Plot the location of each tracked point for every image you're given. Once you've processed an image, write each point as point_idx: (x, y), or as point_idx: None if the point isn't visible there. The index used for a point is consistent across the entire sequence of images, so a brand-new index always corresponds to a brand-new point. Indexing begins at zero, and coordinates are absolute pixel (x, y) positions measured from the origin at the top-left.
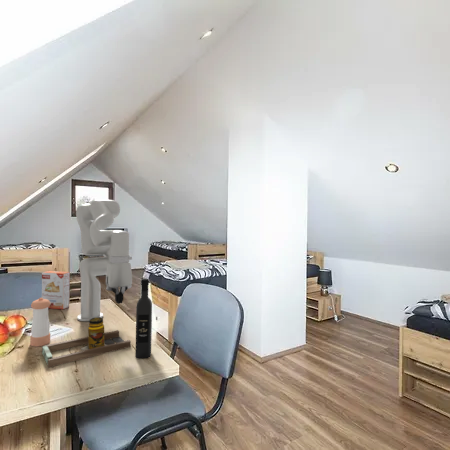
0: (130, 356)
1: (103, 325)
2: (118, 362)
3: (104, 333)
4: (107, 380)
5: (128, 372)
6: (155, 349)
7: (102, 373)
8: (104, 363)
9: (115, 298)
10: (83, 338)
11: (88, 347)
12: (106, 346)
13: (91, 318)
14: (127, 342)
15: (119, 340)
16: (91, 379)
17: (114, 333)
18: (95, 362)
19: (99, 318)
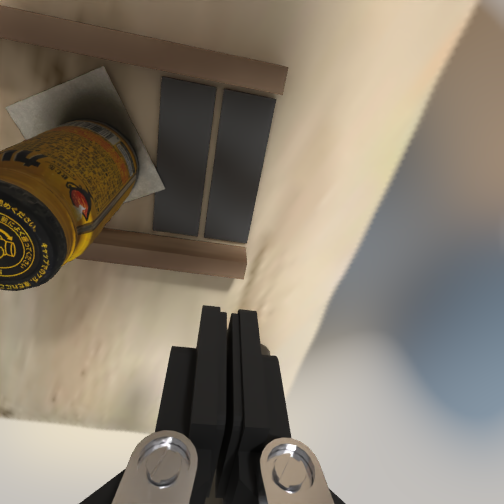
0: (192, 332)
1: (81, 247)
2: (132, 343)
3: (181, 55)
4: (59, 408)
5: (132, 407)
6: (301, 341)
7: (56, 372)
8: (83, 321)
9: (165, 383)
10: (15, 35)
11: (56, 120)
12: (114, 260)
13: None
14: (226, 274)
15: (243, 157)
16: (13, 381)
17: (248, 87)
18: (52, 294)
19: (29, 238)
